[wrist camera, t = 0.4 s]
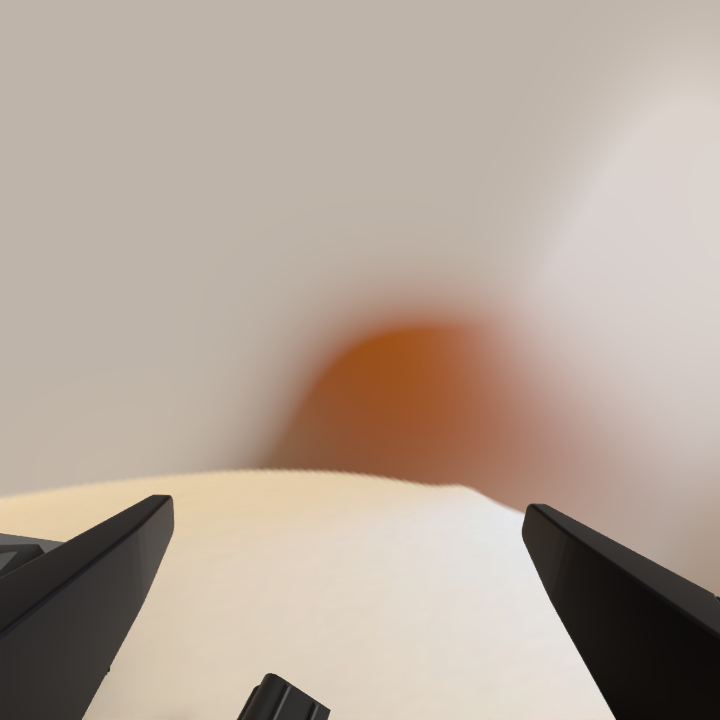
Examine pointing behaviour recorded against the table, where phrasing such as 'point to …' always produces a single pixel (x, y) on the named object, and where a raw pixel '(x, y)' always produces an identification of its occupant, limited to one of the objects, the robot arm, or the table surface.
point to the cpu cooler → (22, 552)
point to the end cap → (281, 702)
